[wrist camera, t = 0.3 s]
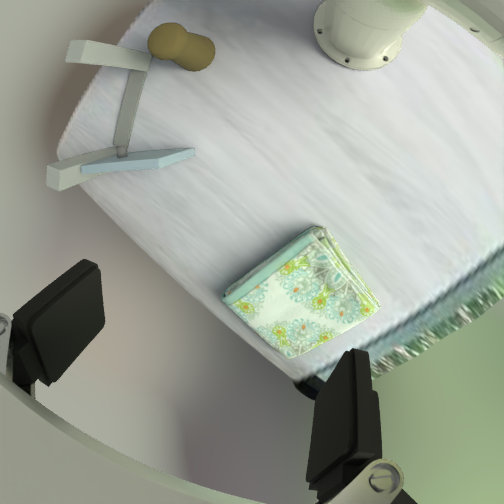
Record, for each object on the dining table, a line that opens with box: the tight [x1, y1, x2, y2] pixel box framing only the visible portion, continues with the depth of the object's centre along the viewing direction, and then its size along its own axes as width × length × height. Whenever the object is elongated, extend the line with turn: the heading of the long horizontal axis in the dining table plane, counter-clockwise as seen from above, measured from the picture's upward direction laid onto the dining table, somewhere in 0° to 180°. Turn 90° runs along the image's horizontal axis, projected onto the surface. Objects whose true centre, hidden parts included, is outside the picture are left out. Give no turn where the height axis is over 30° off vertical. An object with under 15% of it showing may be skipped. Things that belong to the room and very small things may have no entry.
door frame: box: [46, 40, 153, 191], centre depth 35 cm, size 20×3×16 cm, turn 161°
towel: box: [221, 226, 381, 359], centre depth 48 cm, size 18×21×5 cm
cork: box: [148, 23, 215, 71], centre depth 32 cm, size 6×6×11 cm
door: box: [81, 146, 195, 174], centre depth 39 cm, size 13×3×11 cm, turn 91°
